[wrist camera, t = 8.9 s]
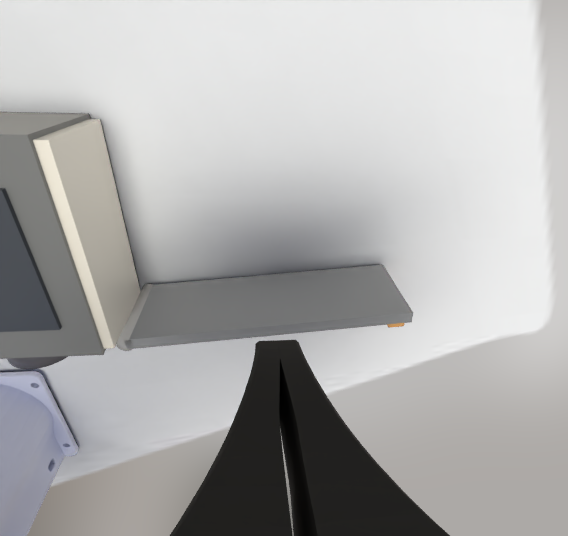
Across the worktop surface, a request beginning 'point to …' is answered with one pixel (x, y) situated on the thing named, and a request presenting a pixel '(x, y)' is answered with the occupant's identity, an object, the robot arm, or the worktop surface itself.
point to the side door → (263, 306)
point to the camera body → (60, 241)
